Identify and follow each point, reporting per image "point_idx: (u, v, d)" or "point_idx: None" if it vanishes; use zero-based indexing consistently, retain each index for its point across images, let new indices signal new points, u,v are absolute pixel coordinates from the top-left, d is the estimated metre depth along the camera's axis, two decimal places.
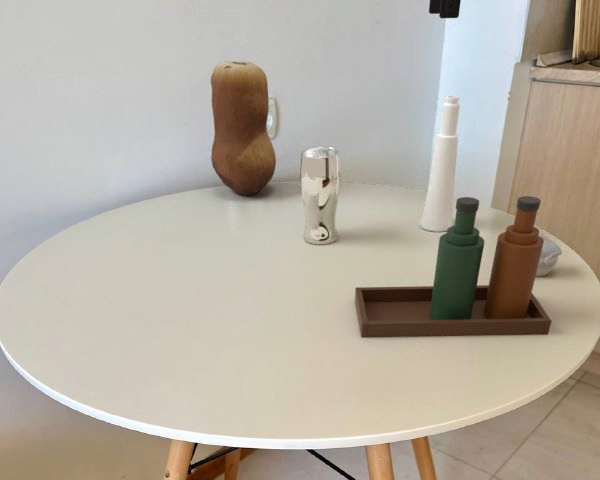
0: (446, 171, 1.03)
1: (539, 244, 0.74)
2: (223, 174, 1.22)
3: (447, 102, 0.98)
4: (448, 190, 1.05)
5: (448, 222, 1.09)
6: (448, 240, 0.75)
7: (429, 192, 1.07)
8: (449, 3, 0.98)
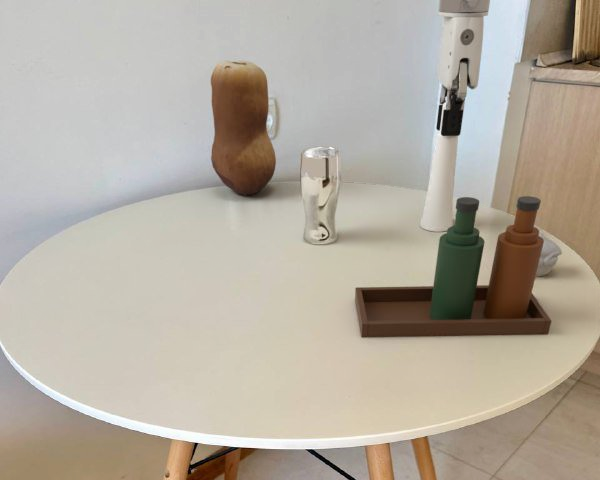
0: (446, 171, 1.03)
1: (539, 244, 0.74)
2: (223, 174, 1.22)
3: None
4: (448, 190, 1.05)
5: (448, 222, 1.09)
6: (448, 240, 0.75)
7: (429, 192, 1.07)
8: (450, 123, 0.98)
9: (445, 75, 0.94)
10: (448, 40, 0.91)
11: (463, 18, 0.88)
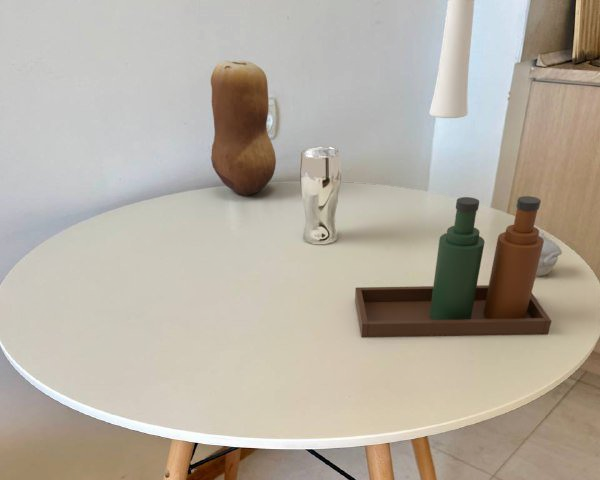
0: (460, 39, 0.87)
1: (539, 244, 0.74)
2: (223, 174, 1.22)
3: None
4: (462, 64, 0.89)
5: (462, 106, 0.93)
6: (448, 240, 0.75)
7: (440, 69, 0.91)
8: None
9: None
10: None
11: None
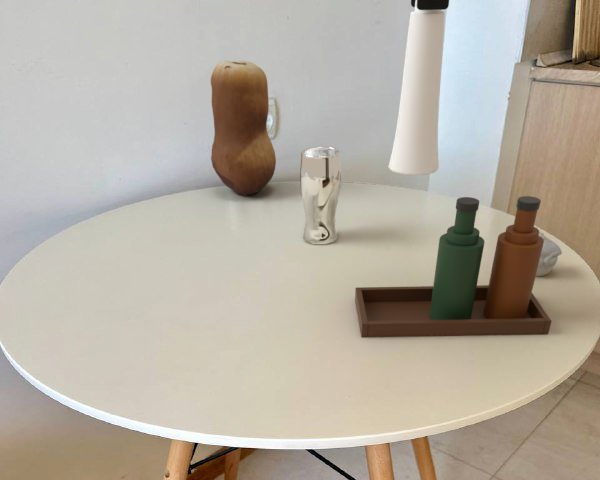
0: (426, 73, 0.64)
1: (539, 244, 0.74)
2: (223, 174, 1.22)
3: None
4: (430, 106, 0.66)
5: (431, 160, 0.70)
6: (448, 240, 0.75)
7: (401, 111, 0.68)
8: None
9: None
10: None
11: None
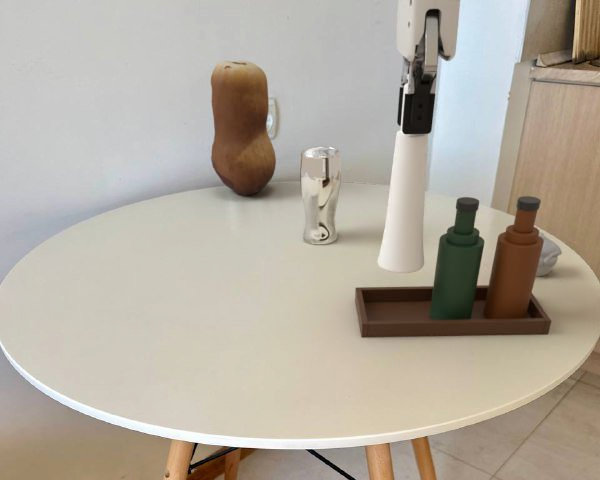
0: (411, 186, 0.69)
1: (539, 244, 0.74)
2: (223, 174, 1.22)
3: None
4: (415, 214, 0.71)
5: (417, 259, 0.75)
6: (448, 240, 0.75)
7: (388, 217, 0.73)
8: (415, 114, 0.64)
9: (405, 39, 0.60)
10: None
11: None
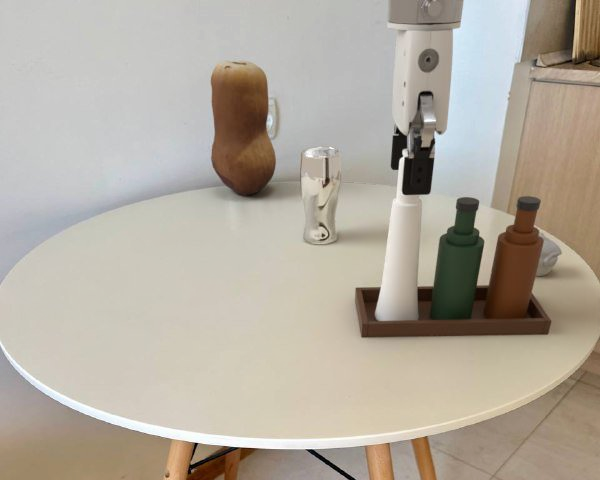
0: (406, 250, 0.74)
1: (539, 244, 0.74)
2: (223, 174, 1.22)
3: None
4: (410, 274, 0.76)
5: (411, 314, 0.79)
6: (448, 240, 0.75)
7: (385, 275, 0.78)
8: (415, 177, 0.65)
9: (399, 114, 0.64)
10: (402, 64, 0.61)
11: (422, 32, 0.58)
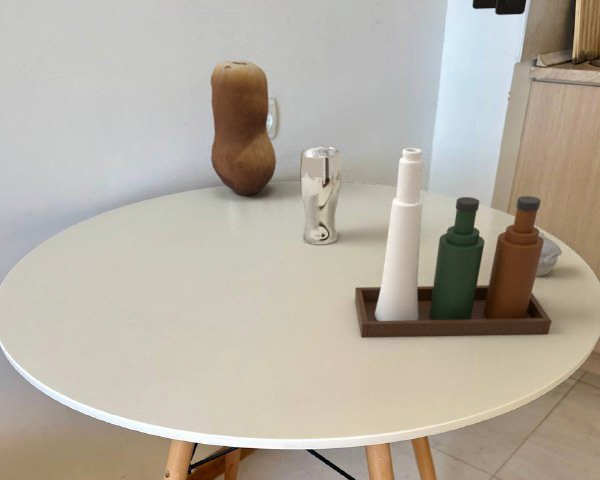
0: (406, 250, 0.74)
1: (539, 244, 0.74)
2: (223, 174, 1.22)
3: (405, 158, 0.69)
4: (410, 274, 0.76)
5: (411, 314, 0.79)
6: (448, 240, 0.75)
7: (385, 275, 0.78)
8: None
9: None
10: None
11: None
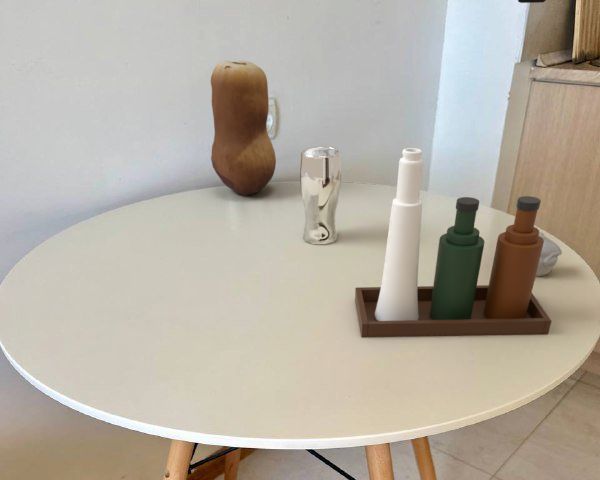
0: (406, 250, 0.74)
1: (539, 244, 0.74)
2: (223, 174, 1.22)
3: (405, 158, 0.69)
4: (410, 274, 0.76)
5: (411, 314, 0.79)
6: (448, 240, 0.75)
7: (385, 275, 0.78)
8: None
9: None
10: None
11: None
